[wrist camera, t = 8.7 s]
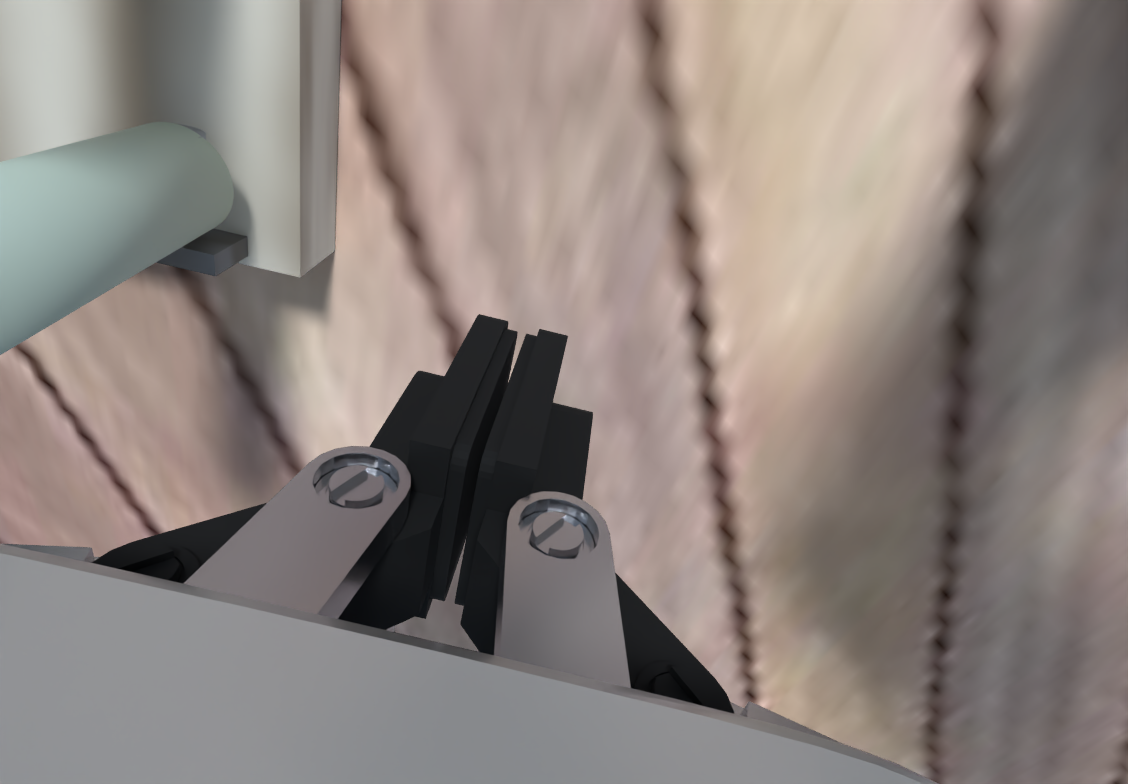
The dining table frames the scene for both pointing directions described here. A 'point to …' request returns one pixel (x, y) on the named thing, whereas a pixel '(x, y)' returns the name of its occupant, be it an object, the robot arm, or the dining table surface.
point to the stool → (193, 104)
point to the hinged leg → (100, 217)
